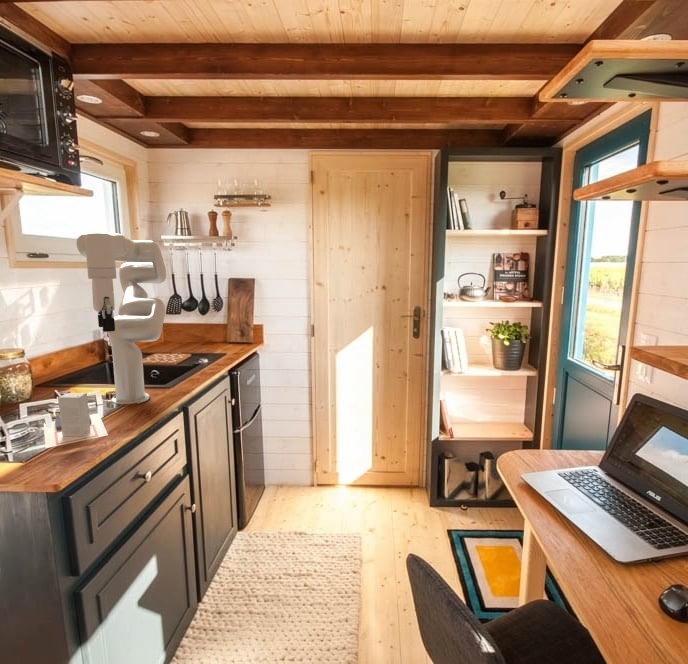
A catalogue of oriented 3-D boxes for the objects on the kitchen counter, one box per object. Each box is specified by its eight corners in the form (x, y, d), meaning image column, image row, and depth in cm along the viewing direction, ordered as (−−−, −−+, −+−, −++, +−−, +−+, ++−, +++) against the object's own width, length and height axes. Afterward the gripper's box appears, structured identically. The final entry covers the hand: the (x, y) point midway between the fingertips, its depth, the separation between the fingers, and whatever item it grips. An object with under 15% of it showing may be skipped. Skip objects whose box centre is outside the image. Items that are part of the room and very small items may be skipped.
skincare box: (91, 430, 125) (87, 392, 122) (83, 436, 120) (79, 397, 118) (70, 430, 124) (66, 392, 122) (61, 436, 120) (57, 397, 118)
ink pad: (55, 422, 130) (54, 418, 130) (88, 416, 136) (88, 412, 135) (56, 430, 124) (56, 426, 124) (91, 424, 129) (91, 420, 129)
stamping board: (43, 425, 129) (43, 422, 129) (98, 415, 138) (98, 413, 138) (45, 450, 113) (45, 447, 113) (108, 437, 122) (108, 434, 122)
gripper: (84, 272, 131) (89, 326, 134) (91, 275, 117) (96, 334, 120) (111, 272, 135) (115, 324, 138) (120, 275, 122) (125, 332, 125)
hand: (106, 328), depth 129 cm, fingers open, 9 cm apart
